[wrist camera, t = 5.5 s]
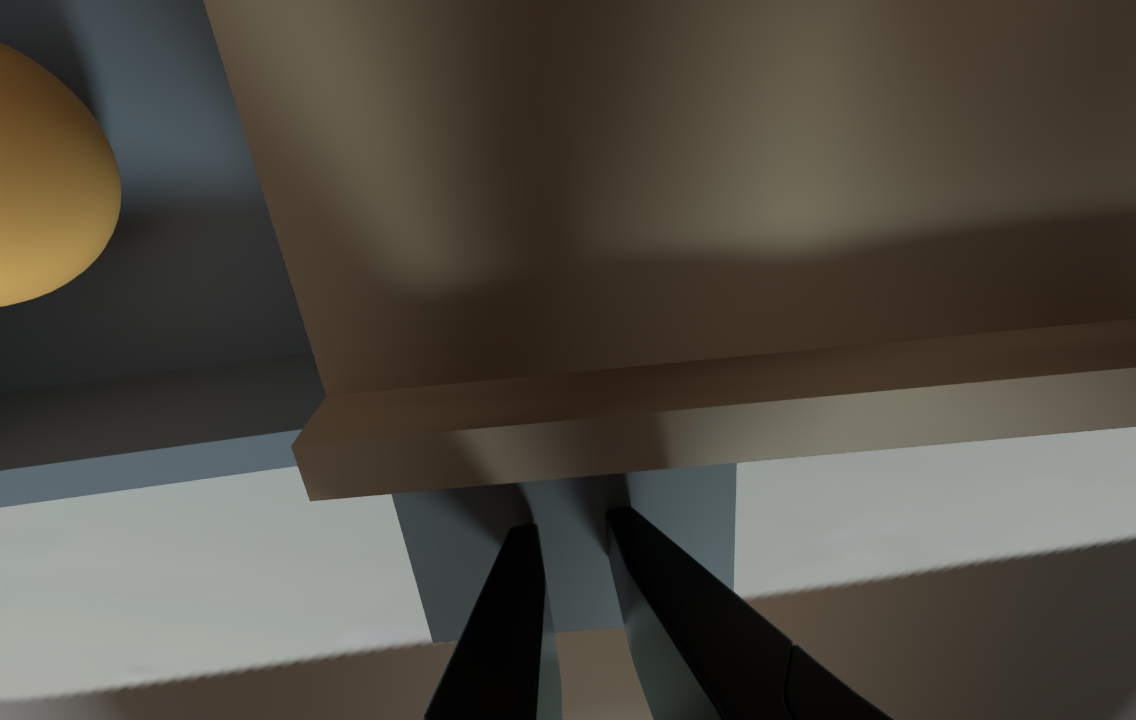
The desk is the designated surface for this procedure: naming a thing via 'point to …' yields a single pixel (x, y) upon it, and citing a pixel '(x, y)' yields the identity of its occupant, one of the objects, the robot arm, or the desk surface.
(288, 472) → the desk surface
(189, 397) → the tray
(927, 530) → the desk surface
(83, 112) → the ball
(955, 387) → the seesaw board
